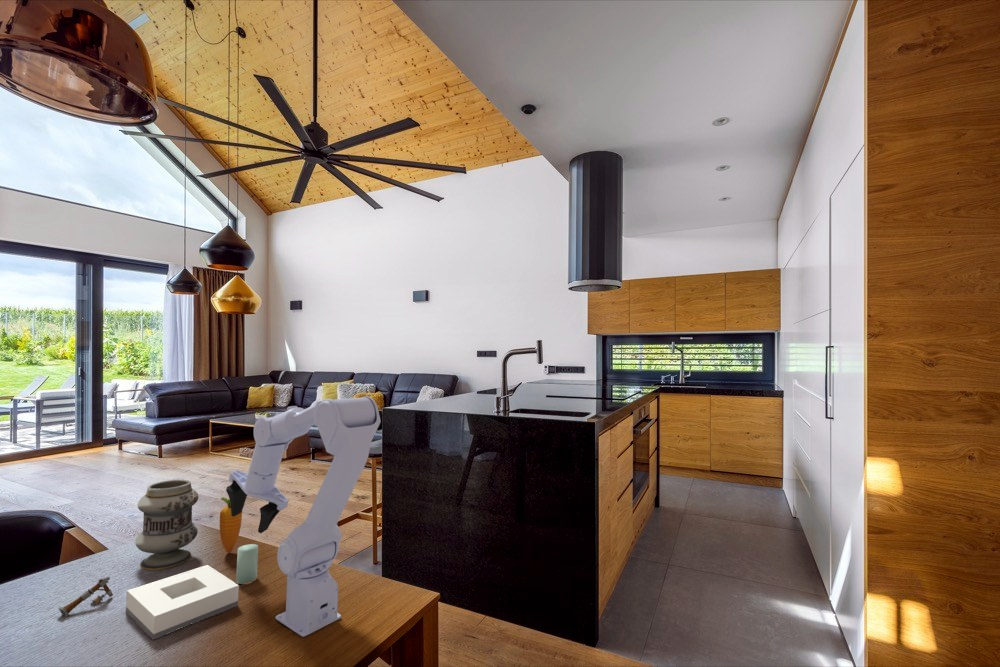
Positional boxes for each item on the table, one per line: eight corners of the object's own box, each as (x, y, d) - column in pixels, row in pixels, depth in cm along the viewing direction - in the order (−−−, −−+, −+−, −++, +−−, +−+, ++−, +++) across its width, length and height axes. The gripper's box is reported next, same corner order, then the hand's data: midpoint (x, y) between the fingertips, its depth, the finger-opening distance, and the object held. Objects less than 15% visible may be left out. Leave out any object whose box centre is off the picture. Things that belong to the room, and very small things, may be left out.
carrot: (233, 557, 113) (236, 494, 113) (212, 557, 113) (216, 494, 113) (244, 549, 118) (247, 489, 118) (225, 548, 118) (228, 488, 118)
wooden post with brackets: (119, 592, 94) (110, 575, 93) (73, 627, 87) (62, 609, 86) (114, 590, 95) (105, 573, 94) (68, 624, 88) (57, 607, 87)
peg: (260, 579, 102) (261, 547, 103) (241, 587, 99) (243, 553, 99) (251, 574, 105) (252, 542, 105) (232, 581, 101) (234, 548, 102)
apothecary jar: (151, 551, 115) (156, 477, 116) (205, 548, 117) (209, 476, 118) (121, 574, 103) (126, 491, 104) (181, 570, 105) (186, 490, 106)
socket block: (237, 605, 92) (238, 585, 92) (153, 640, 80) (154, 616, 81) (206, 583, 100) (207, 564, 100) (125, 612, 89) (126, 590, 89)
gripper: (304, 476, 102) (288, 529, 105) (253, 447, 106) (239, 499, 108) (280, 489, 95) (264, 545, 98) (226, 458, 99) (212, 513, 101)
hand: (249, 522), depth 102 cm, fingers open, 7 cm apart
